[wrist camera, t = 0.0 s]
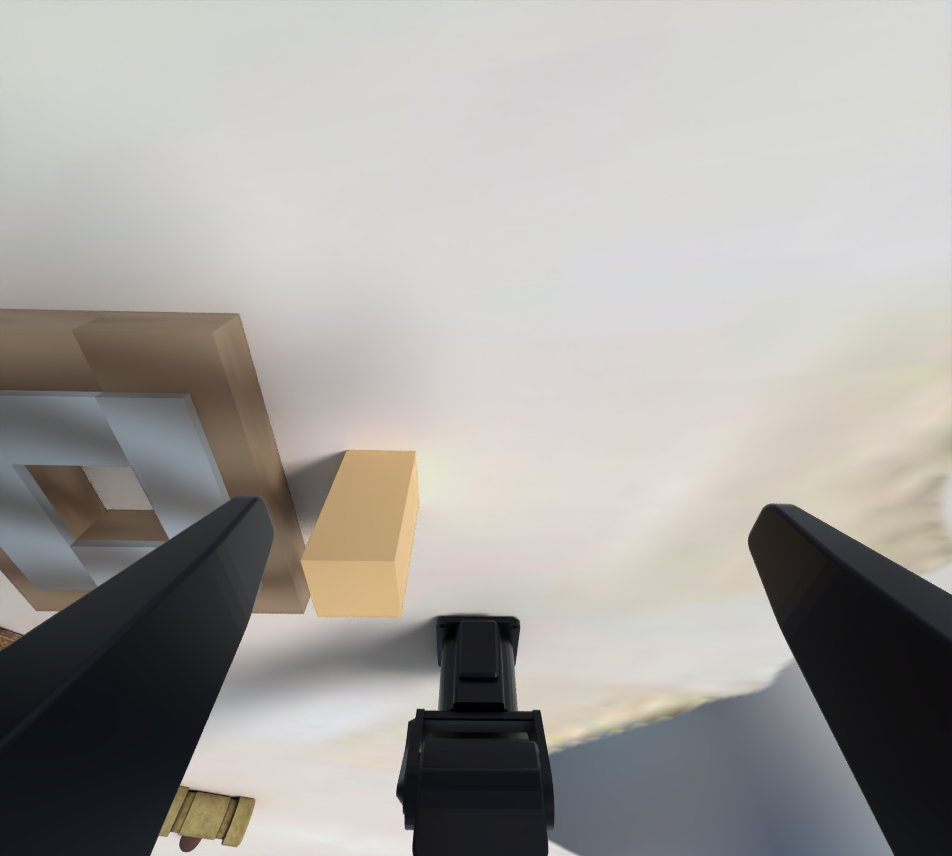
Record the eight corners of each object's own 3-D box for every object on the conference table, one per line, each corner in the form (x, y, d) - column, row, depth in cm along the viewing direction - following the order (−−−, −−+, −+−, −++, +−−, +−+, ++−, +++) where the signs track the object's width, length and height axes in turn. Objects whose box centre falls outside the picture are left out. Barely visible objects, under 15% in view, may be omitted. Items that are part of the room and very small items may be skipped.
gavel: (215, 870, 62) (139, 861, 60) (230, 828, 66) (160, 817, 63) (242, 843, 51) (150, 830, 48) (259, 793, 55) (174, 778, 52)
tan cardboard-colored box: (419, 502, 27) (401, 617, 21) (355, 501, 27) (317, 616, 21) (415, 451, 25) (394, 561, 19) (347, 450, 25) (300, 560, 19)
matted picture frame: (315, 582, 32) (301, 620, 29) (65, 579, 31) (29, 617, 29) (238, 313, 21) (206, 336, 18) (-144, 306, 21) (-231, 328, 18)
